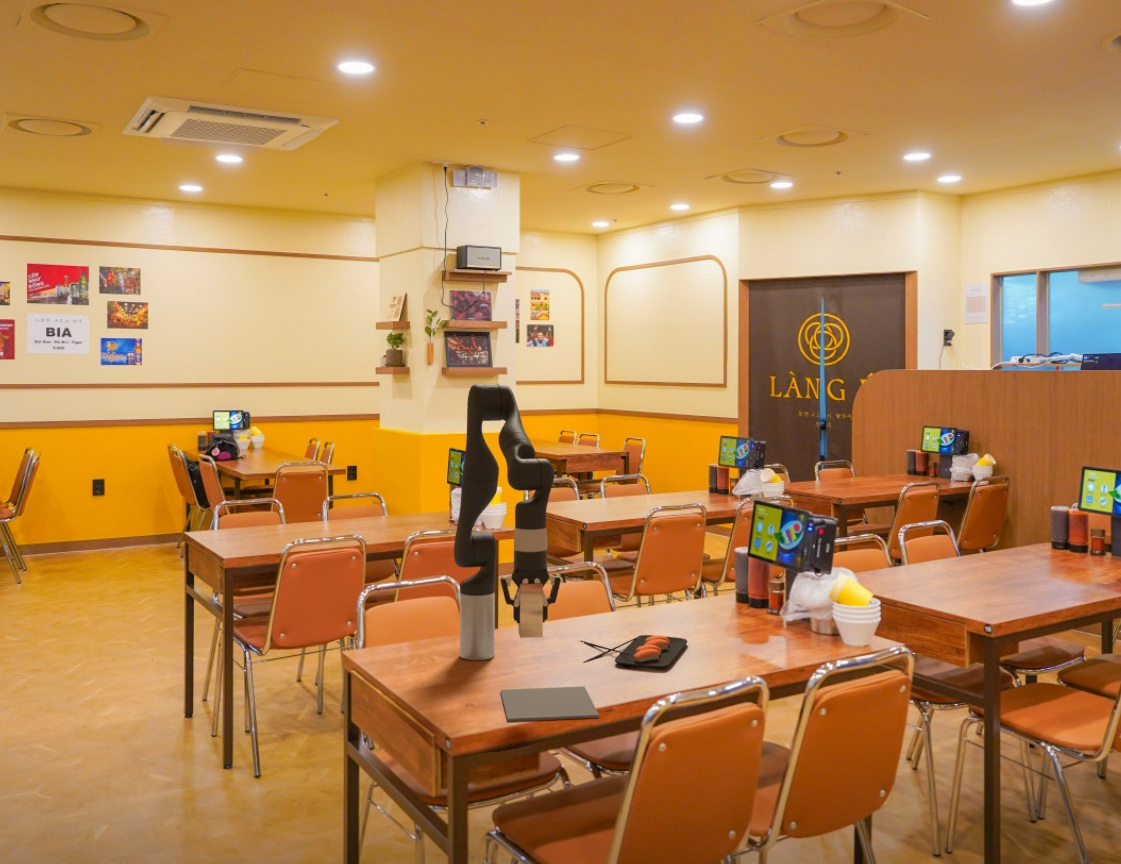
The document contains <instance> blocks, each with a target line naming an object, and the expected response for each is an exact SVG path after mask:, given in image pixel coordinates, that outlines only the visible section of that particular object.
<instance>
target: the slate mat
mask: <svg viewBox="0 0 1121 864" xmlns="http://www.w3.org/2000/svg"><path fill="white" fill-rule="evenodd" d="M500 695H501V700H502V703H503V708H504V713H505V716H506V717H505V718H506V721H507V722H527V721H531V722H532V721H547V720H548V721H550V720H575V719H595V718H596V719H597V718H600V715H599V712H598V711H597V708H596V707H595V704H594V703H593V701H592V699H591V697H590V695H589V692H588V690H587V689H586V687H585V686H566V687H565V686H560V687H559V686H558V687H540V688H539V687H537V688H534V687H533V688H513V689H512V688H511V689H509V688H508V689H500Z"/></svg>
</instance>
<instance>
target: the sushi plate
mask: <svg viewBox="0 0 1121 864" xmlns="http://www.w3.org/2000/svg"><path fill="white" fill-rule="evenodd" d="M580 641H581V642H580V643H582V642H584V643H583V644H585V643H586V644H585V645H587V644H589V645H588V646H590V645H591V647H596V648H599V649H604V650H607V651H604V652H602V653H600V654H597V655H595V656H593V657H590V658H589V659H586V660H584V661H582V663H583V664H584V663H585V662H586V663H588V662H591V661H594V660H597V659H599V658H601V657H602V656H605V655H606V654H608V653H610V652H614V653H619V654H618V655H617V656H616V657H615V659H614V662H615V663H616V664H618V665H623V666H631V665H632V667H638V666H639V668H650V669H653V668H659V669H665V668H667V667H669V666H670V665H671V664H672V663H673V662H674V660H675V659H676V658H677V657H678V655H680V653H681V651H682V650H683V649H684V648H685V647H686V645H687V643H688V640H687V639H686V638H683V637H674V636H666V635H665V636H664V635H653V634H652V635H651V634H642V635H638V636H637V637H634V638H632V639H630V640H628V641H626V642H623V643H621V644H619V645H617V646H615V647H613V648H610V647H609V648H608V647H605V646H602V645H598V644H595V643H591V642H588V641H584V640H580ZM627 644H628V645H627ZM624 645H627V646H626V647H625V648H624V649H623V650H622V651H619V650H617V649H618V648H620V647H622V646H624ZM596 658H597V659H596ZM593 659H594V660H593ZM590 660H591V661H590ZM587 661H588V662H587ZM586 663H585V664H586Z"/></svg>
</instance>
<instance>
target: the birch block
mask: <svg viewBox="0 0 1121 864" xmlns="http://www.w3.org/2000/svg"><path fill="white" fill-rule="evenodd" d="M543 591H544V587H543V583H541V584H535V583H528V584H522V583H520V604H519V606H520V623H517V626H518V629H517V630H518V632H517V633H518V635H519V637H520V639H527V638H528V639H530V638H531V639H532V638H544V637H543V636H544V635H543V633H544V631H543V630H544V628H543V627H544V625H543Z"/></svg>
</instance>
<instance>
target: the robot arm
mask: <svg viewBox="0 0 1121 864" xmlns="http://www.w3.org/2000/svg"><path fill="white" fill-rule="evenodd" d="M466 405H467V406H466V407H467V408H466V412H467V413H466V441H465V452H464V459H463V460H464V461H463V466H462V467H463V468H462V474H461V475H462V479H461V491H460V505H459V514H458V520H457V524H456V525H457V527H456V532H455V536H454V537H455V538H454V544H453V558H454V562H455V564H456V566H458V567H459V568H463V569H464V568H467V569H469V568H479V570H478V571H477V572H476V573H474V575H471V576H469V577H467V578H465V579H463V580H462V581H461V582H460V584H459V657H460V658H462V659H464V660H469V661H486V660H489V659H492V658H494V657H495V652H496V651H495V647H496V646H495V644H496V642H495V640H496V638H495V635H496V633H495V630H496V629H495V628H496V626H495V625H496V624H495V622H496V621H495V620H496V619H495V618H496V617H495V615H496V614H495V613H496V612H495V610H496V608H495V603H496V602H495V601H496V600H495V599H496V598H495V595H496V594H495V593H496V592H495V591H496V589H495V588H496V587H495V586H496V568H497V567H496V563H497V562H496V561H497V541H496V537H495V535H494V533H493V532H491V531H473V529H474V526H475V524H476V522H477V520H478V518H480V516H481V514H482V513H483V512H484V511H485V509H486V508H487V507H488V506H489V505H490V503H491V502H492V501H493V500H494V498H495V496H496V494H497V490H498V484H499V483H498V482H499V475H500V466H499V463H498V461H497V460H496V459H497V458H495V455H494V454H493V452H492V451H491V448H490V447H489V446H488V444H487V442H486V439H485V437H484V434H483V422H494V421H497V422H498V421H505V422H504V424H503V426H502V427H501V430H500V431H499V434H498V446H499V450H500V451H501V454H502V456H503V458H504V459H505V463H506V468H507V470H506V471H507V472H506V476H507V478H506V479H507V483H508V485H509V486H510V487H511V489H513V490H515V491H520V492H521V491H534V493H533V495H532V496H531V497H530V498H528V499H525V500H521V501H518V502H517V503H516V505H515V507H514V534H513V572H512V573H511V575H510V576H501V577H500V579H499V581H500V584H501V588H502V593H503V596H504V597H503V598H504V601H505V604H507V605H508V606H509V605H510V606H512V608H513V610H512V612H513V613H512V614H513V615H512V616H513V620H514V621H515V623H516V624H518V623H520V606H519V604H520V583H522V584H528V583H535V584H541V583H543V588H544V587H545V585H546V584H547V582H548V581H549V583H550V585H551V590H550V594H549V596H548V597H547V596H546V594H545V591H544V590H543V623H546V621H547V620H548V618H549V617H548V615H549V611H548V610H549V608H548V607H549V605H552V604H555V603H556V602H557V598H558V595H559V589H560V586H561V581H562V579H561V577H560V576H559V575H551V574H549V572H548V533H547V508H548V503H549V499H550V494H551V491H552V489H553V485H554V482H555V481H554V480H555V468H554V465H553V464H552V462H551V461H550V460H549V459H547V458H536V451H535V448H534V446H533V444H532V442H531V439H529V437H528V434H527V433H526V430H525V428H524V426H523V422H522V419H521V418H522V417H521V414H520V410H519V407H518V403H517V401H516V397H515V395H514V391H513V390H512V388H511V387H510V386H509V385H507V384H504V383H477V384H473V385H471V387H470V389H469V391H468V395H467V403H466ZM512 581H513V583H514V584H515V585H516V587H517V589H516V592H515V595H514V598H512V597H511V595H510V590H509V587H510V586H511V583H512Z"/></svg>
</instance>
